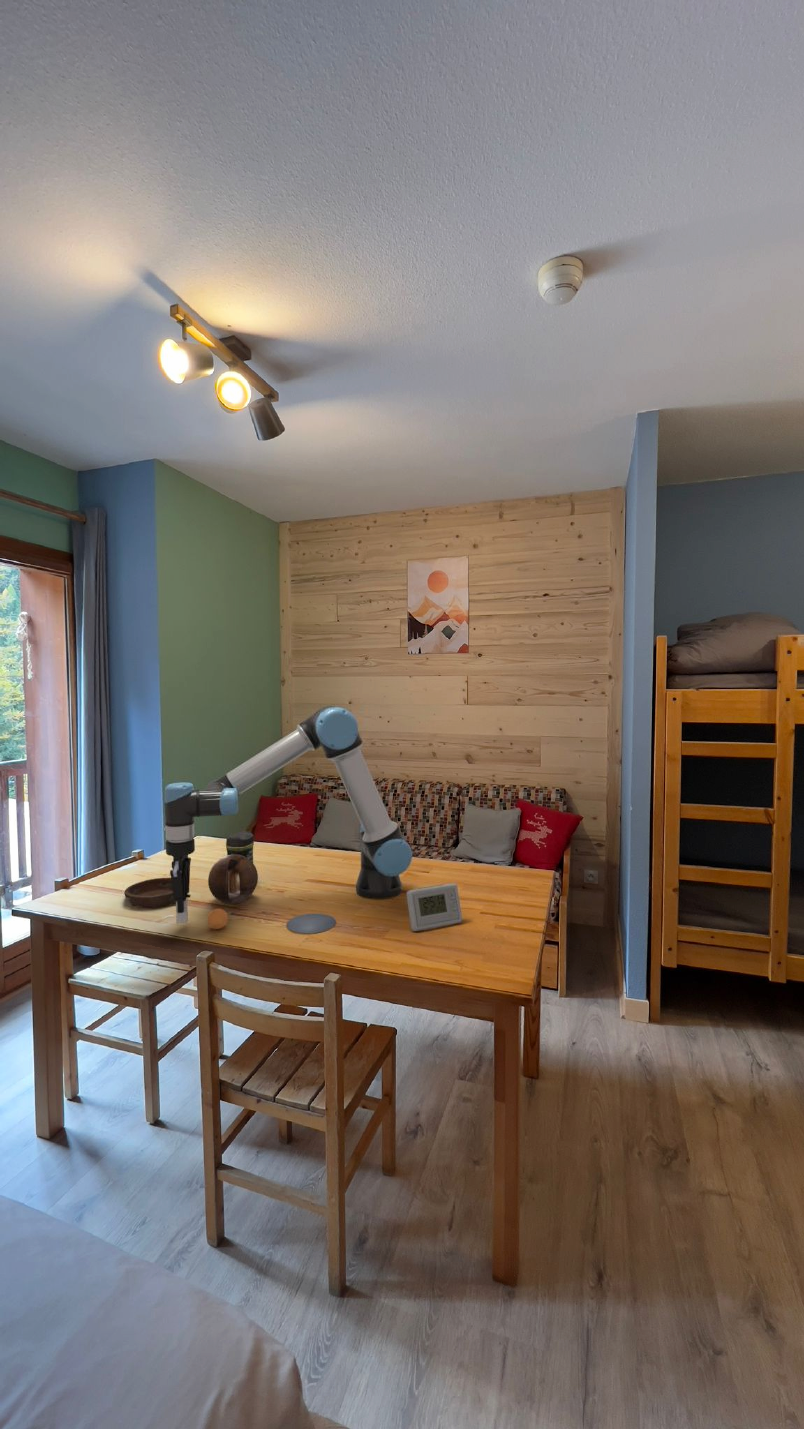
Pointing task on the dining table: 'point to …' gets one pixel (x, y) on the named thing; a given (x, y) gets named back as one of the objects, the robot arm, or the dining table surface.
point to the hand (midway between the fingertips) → (182, 922)
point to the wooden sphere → (233, 879)
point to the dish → (151, 893)
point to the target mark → (311, 923)
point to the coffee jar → (241, 844)
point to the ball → (217, 919)
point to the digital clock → (434, 907)
